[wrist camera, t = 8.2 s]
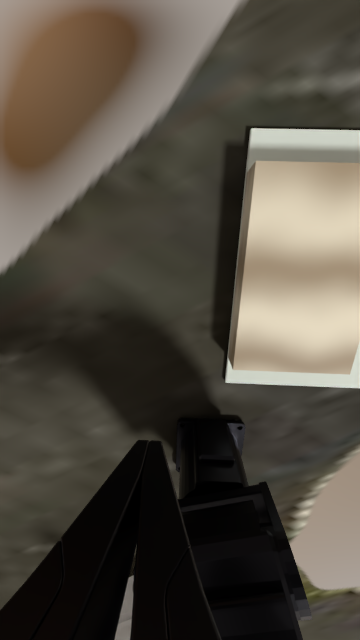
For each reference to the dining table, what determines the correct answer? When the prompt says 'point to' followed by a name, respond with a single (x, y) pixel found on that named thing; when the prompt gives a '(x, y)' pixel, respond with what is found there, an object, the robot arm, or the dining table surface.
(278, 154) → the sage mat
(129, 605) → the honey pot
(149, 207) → the dining table surface
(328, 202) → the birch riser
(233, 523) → the robot arm
